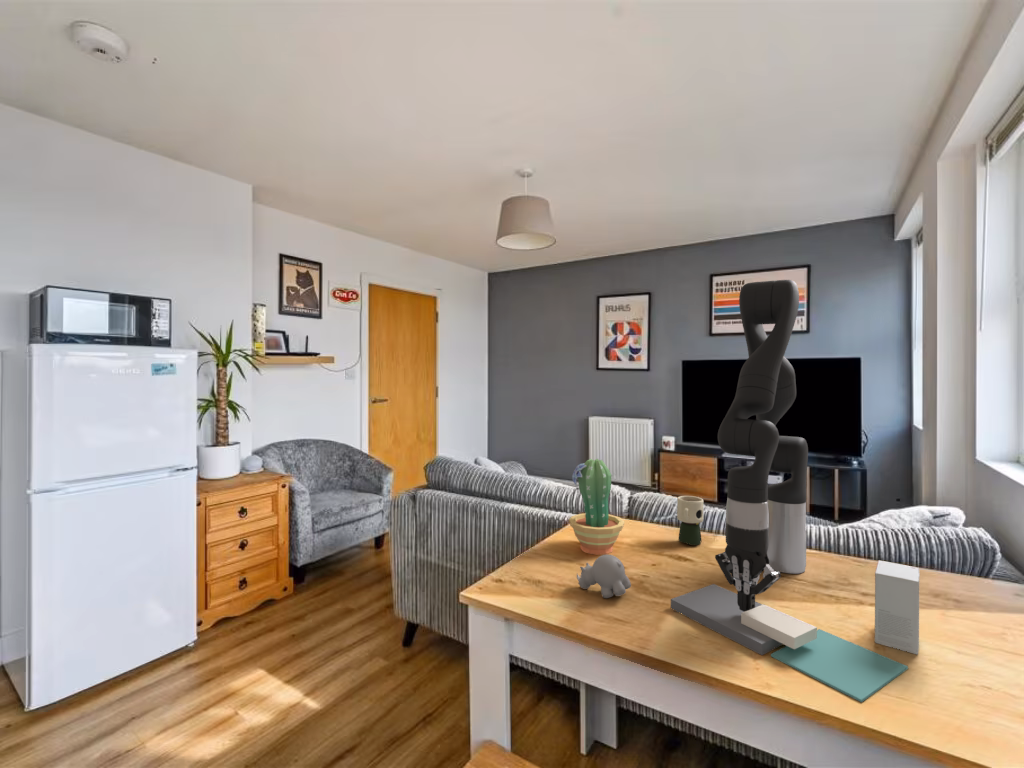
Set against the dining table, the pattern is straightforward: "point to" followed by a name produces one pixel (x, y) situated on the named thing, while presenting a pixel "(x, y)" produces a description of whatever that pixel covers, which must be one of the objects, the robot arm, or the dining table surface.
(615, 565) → the chubby cartoon animal
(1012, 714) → the dining table surface
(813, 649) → the teal mat
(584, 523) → the potted cactus
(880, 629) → the small box
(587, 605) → the dining table surface
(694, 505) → the character mug
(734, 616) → the plate
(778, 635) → the cream tile
